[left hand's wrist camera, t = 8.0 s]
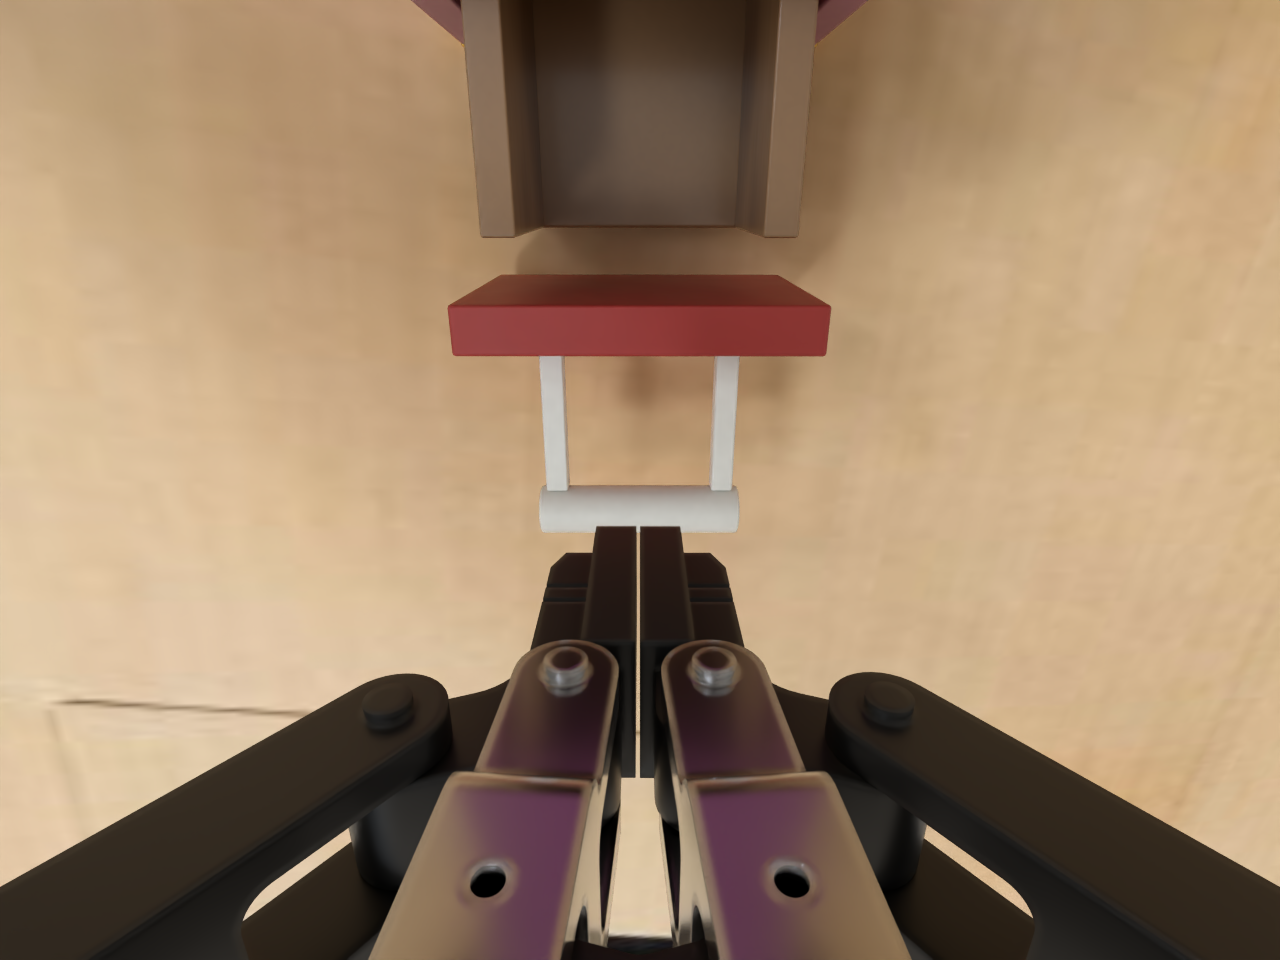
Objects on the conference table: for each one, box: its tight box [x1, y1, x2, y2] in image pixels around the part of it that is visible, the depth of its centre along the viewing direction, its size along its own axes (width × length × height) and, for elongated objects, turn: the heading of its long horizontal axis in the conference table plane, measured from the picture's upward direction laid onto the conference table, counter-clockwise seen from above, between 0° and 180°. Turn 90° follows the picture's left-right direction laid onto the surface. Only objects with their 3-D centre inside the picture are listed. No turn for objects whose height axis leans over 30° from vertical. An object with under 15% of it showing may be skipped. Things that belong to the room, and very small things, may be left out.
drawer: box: [448, 0, 831, 533], centre depth 17 cm, size 22×9×6 cm, turn 0°
